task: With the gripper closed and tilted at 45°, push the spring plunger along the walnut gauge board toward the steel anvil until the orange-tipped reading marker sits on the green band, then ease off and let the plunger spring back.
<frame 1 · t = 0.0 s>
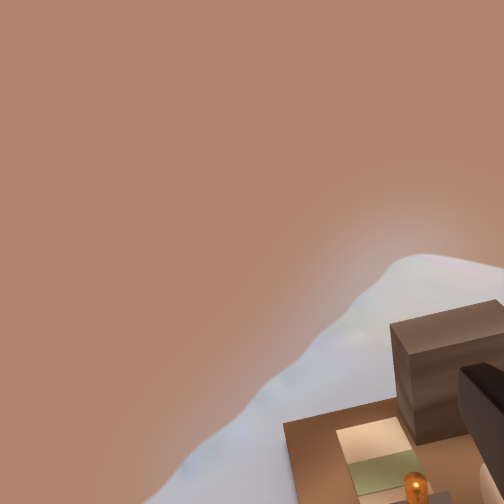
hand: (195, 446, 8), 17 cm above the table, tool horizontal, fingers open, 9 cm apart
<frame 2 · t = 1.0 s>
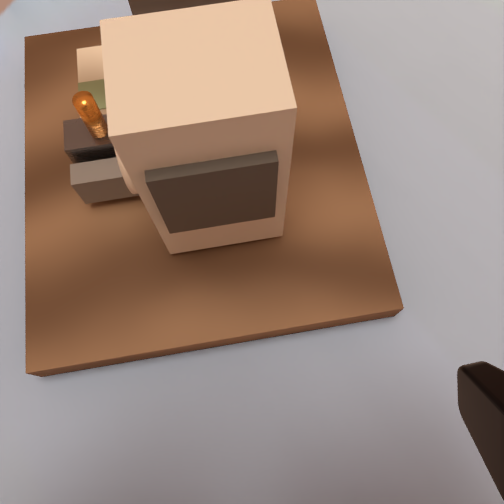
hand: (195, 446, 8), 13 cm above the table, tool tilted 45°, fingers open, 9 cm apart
reading marker: (100, 132, 20), point 4 cm above the table, slide at 0.0 cm
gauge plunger: (163, 162, 17), point 6 cm above the table, slide at 0.0 cm
gauge base: (214, 168, 24), on the table
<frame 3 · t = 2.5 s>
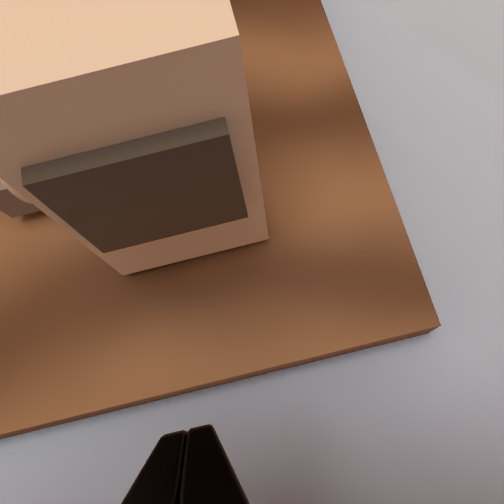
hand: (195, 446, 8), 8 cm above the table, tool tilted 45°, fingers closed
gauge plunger: (81, 154, 12), point 6 cm above the table, slide at 0.0 cm
gauge base: (181, 158, 19), on the table
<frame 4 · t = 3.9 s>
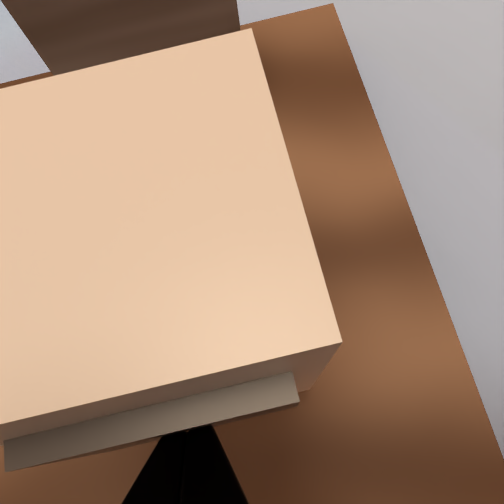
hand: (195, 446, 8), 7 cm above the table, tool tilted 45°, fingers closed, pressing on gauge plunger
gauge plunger: (86, 336, 9), point 6 cm above the table, slide at 0.6 cm, touching gripper, reading marker
gauge base: (204, 280, 16), on the table
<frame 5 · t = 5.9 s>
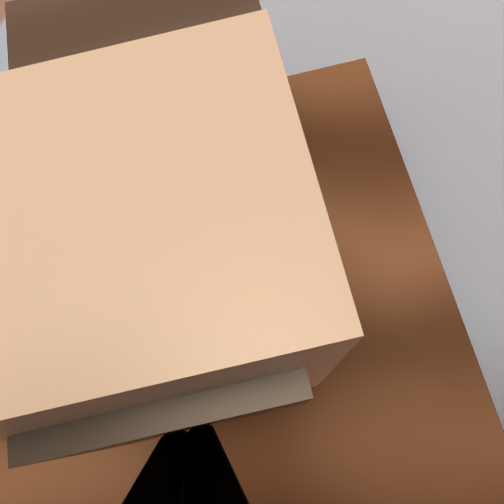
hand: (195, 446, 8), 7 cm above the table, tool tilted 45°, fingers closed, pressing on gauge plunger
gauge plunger: (91, 329, 9), point 6 cm above the table, slide at 3.6 cm, touching gripper
gauge base: (226, 363, 15), on the table
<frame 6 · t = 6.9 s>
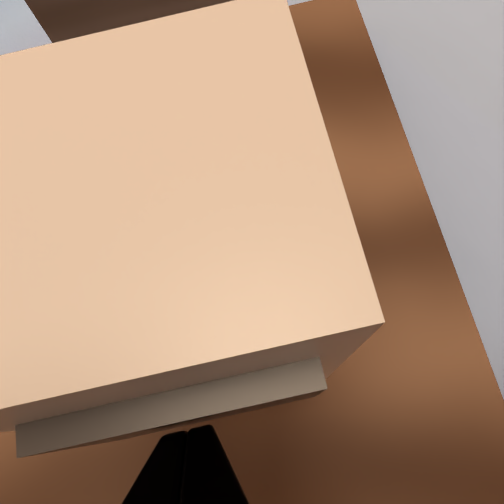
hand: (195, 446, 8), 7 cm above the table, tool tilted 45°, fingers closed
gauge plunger: (98, 320, 9), point 6 cm above the table, slide at 0.9 cm
gauge base: (216, 276, 16), on the table
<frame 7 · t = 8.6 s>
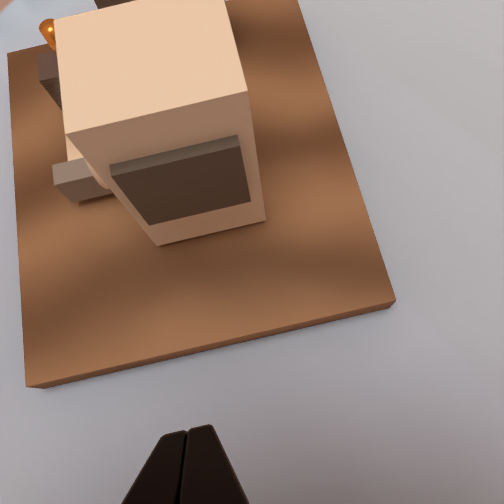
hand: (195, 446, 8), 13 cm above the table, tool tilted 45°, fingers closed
reading marker: (71, 63, 22), point 4 cm above the table, slide at 4.5 cm
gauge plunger: (136, 156, 17), point 6 cm above the table, slide at 0.7 cm
gauge base: (201, 170, 24), on the table
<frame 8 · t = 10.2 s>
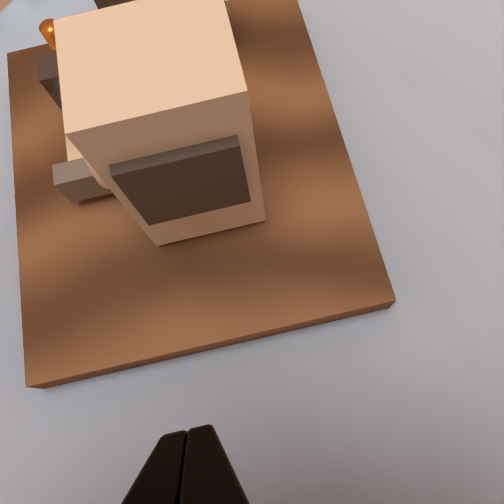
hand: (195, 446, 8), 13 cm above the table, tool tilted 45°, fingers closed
reading marker: (71, 63, 22), point 4 cm above the table, slide at 4.5 cm
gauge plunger: (135, 156, 17), point 6 cm above the table, slide at 0.7 cm
gauge base: (201, 170, 24), on the table
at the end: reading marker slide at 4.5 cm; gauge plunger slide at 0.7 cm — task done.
